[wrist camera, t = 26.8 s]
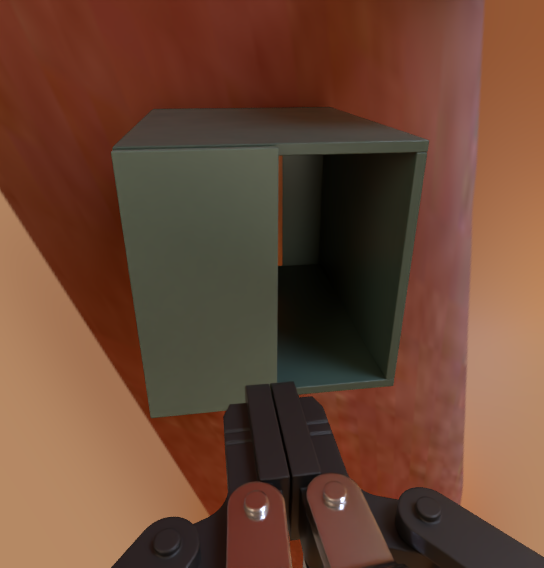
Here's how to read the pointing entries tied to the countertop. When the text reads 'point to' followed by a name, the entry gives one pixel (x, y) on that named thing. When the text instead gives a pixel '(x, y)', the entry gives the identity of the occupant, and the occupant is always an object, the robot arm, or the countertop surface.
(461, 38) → the countertop surface
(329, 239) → the dark green open box
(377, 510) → the robot arm
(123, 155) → the flap
